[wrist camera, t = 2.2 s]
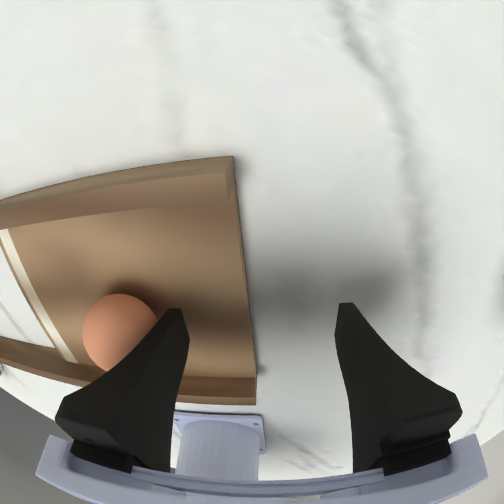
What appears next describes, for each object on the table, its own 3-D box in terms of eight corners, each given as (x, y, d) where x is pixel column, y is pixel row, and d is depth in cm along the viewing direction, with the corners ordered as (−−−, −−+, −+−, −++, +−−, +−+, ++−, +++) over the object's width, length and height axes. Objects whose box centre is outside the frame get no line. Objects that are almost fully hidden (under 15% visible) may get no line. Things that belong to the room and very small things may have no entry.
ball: (177, 335, 15) (160, 395, 12) (116, 332, 16) (92, 384, 12) (158, 276, 13) (128, 338, 10) (91, 277, 14) (54, 330, 10)
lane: (257, 373, 18) (255, 411, 16) (-6, 340, 21) (-18, 359, 18) (232, 155, 11) (222, 176, 9) (-65, 224, 13) (-85, 240, 11)
